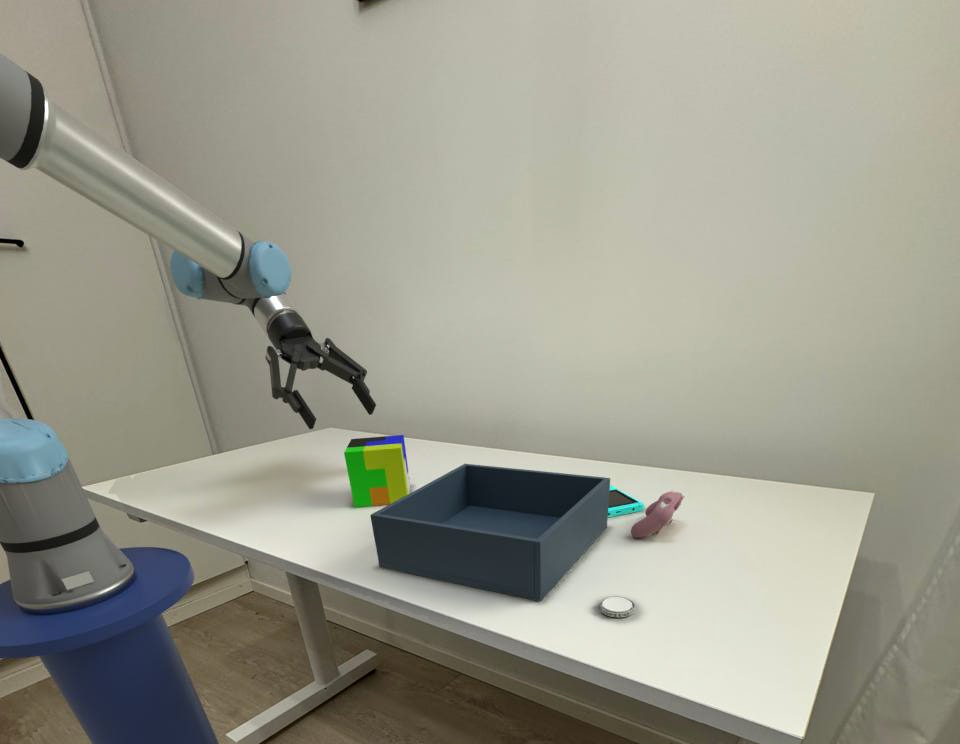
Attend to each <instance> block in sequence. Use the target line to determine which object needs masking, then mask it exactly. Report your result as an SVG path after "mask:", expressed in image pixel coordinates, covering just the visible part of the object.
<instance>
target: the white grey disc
mask: <svg viewBox="0 0 960 744" xmlns="http://www.w3.org/2000/svg"><path fill="white" fill-rule="evenodd" d="M599 610H600V612H601V613H602V614H603V615H605V616H608V617H612V618H625V617H629V616H631V615H633V613H634V612H635V603H634V601H632V600H631V599H629V598H627V597H624V596H608V597H604V598H603V599H602V600H601V601H600V603H599Z"/></svg>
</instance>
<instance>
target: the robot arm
mask: <svg viewBox="0 0 960 744" xmlns="http://www.w3.org/2000/svg"><path fill="white" fill-rule="evenodd" d="M0 159H1V160H3V161H5V162H7V163H8V164H10V165H11V166H14V167H16V168H17V169H18V170H20V171H27V170H31V169H36V170H38V171H39V172H41V173H43V174H44V175H45V176H48V177H49V178H51V179H53V180H54V181H56V182H58V183H60V184H62V185H63V186H64V187H66V188H68V189H70V190H71V191H73V192H75V193H76V194H78V195H79V196H82V197H83V198H85V199H86V200H88V201H90V202H92V203H93V204H94V205H97V207H98V206H99V207H100V208H101V209H102V210H103V209H104V210H105V211H107V212H108V213H110V214H112V215H114V216H115V217H117V218H118V219H120V220H122V221H124V222H125V223H127V224H129V225H131V226H132V227H134V228H135V229H137V230H139V231H140V232H142V233H144V234H145V235H148V236H149V237H151V238H153V239H154V240H156V241H158V243H161V244H163V245H164V246H166V247H168V248H169V249H170V250H172V253H171V256H170V261H169V267H170V274H171V278H172V281H173V284H174V285H175V287H176V289H177V290H178V291H179V292H180V293H181V294H182V295H184V296H186V297H190V298H194V299H197V300H199V301H200V300H206V301H213V302H214V301H215V302H219V303H220V302H221V303H228V304H233V305H236V306H237V305H238V306H245V307H247V308H248V309H249V311H250V313H251V314H252V316H253V317H254V318H255V320H256V321H257V322H258V324H259V326H260V327H261V328H262V330H263V332H264V333H265V335H266V336H267V337H268V339H269V341H270V342H271V344H272V346H271V345H268V346H267V348H266V353H265V361H266V362H267V364H268V366H269V377H270V387H271V396H272V398H273V399H274V400H279V399H281V400H282V402H283V403H284V404H288V405H289V407H290V408H291V409H292V411H293V413H296V414H298V415H299V416H300V417H301V418H302V420H303V422H304V423H305V425H306V426H307V428H308V429H309V430H313V429H314V427H315V424H316V421H317V418H316V416H315V415H314V413H313V411H312V410H311V409H310V407H309V406H308V404H307V402H306V401H305V399H304V398H303V396H302V395H301V393H300V392H299V390H298V389H294V390H293V387H294V382H295V379H296V375H297V370H301V371H302V372H303V371H304V372H305V371H307V370H314V369H318V370H319V371H322V372H323V371H327V372H328V373H330V374H331V375H334V376H335V377H337V378H339V379H340V380H342V381H345V382H347V383H348V384H350V385H352V386H351V390H352V391H353V393H354V394H355V396H356V397H357V398H358V401H359V402H360V404H361V405H362V406H363V408H364V410H365V411H366V412H367V414H368V415H369V416H370V415H373V414H374V411H375V409H376V407H377V404H376V402H375V400H374V399H373V397H372V395H370V394H371V391H370V388H369V387H368V386H367V384H366V383H365V379H366V376H367V374H368V371H367V369H366V368H365V367H363V365H360V364H359V363H358V362H357V361H356V360H354V359H353V358H351V356H349V355H348V354H347V353H345V352H344V351H343V350H341V348H339V347H337V346H336V345H335V343H334V341H332V339H331V338H329V337H326V338H325V339H324V341H323V342H318V341H317V340H315V338H314V337H313V334H312V332H311V331H312V330H311V329H310V328H309V326H308V325H307V323H306V322H305V320H304V319H303V317H302V316H301V315H300V312H299V311H298V309H297V308H296V306H295V304H294V303H293V302H292V300H291V299H290V298H289V296H288V295H287V293H286V292H287V290H288V289H289V287H290V286H291V282H292V281H291V279H292V269H291V265H290V263H289V260H288V257H287V255H286V254H285V252H284V251H283V250H282V248H281V247H280V246H278V245H277V244H275V243H273V242H272V241H271V242H269V241H263V240H257V241H254V240H253V239H250V238H249V237H247V236H246V235H245V234H244V233H242V232H240V231H239V230H237V229H236V228H234V227H233V226H231V225H230V224H229V223H227V222H225V221H224V220H223V219H222V218H220V217H219V216H217V215H216V214H214V213H213V212H211V211H210V210H208V209H207V208H206V207H204V206H203V205H201V204H200V203H198V202H197V201H196V200H195V199H193V198H192V197H190V196H189V195H187V194H186V193H184V192H183V191H182V190H180V189H179V188H177V187H176V186H175V185H173V184H172V183H170V182H169V181H167V180H166V179H164V178H163V177H161V176H160V175H158V174H157V173H156V172H154V171H153V170H151V169H150V168H149V167H148V166H146V165H144V164H143V163H141V162H140V161H139V160H137V159H136V158H134V157H133V156H131V155H130V153H127V152H126V151H125V150H123V149H122V148H120V147H118V146H117V145H116V144H115V143H113V142H112V141H111V140H109V139H107V138H106V137H105V136H103V135H101V134H100V133H98V132H97V131H96V130H95V129H93V128H92V127H90V126H89V125H87V124H86V123H84V122H83V121H82V120H81V119H79V118H77V117H76V116H75V115H73V114H72V113H70V112H69V111H67V110H66V109H65V108H63V107H61V105H59V104H58V103H56V102H55V101H53V100H52V99H51V97H50V96H49V93H48V91H47V89H46V87H45V85H44V83H43V82H42V81H41V80H39V79H38V78H36V76H33V74H31V73H29V72H28V71H27V70H25V69H24V68H22V67H21V66H20V65H18V64H17V63H16V62H15V61H13V60H12V59H10V58H9V57H7V56H6V55H4V54H3V53H1V52H0ZM321 358H322V361H321ZM280 360H283V361H284V362H286V363H287V364H289V369H288V374H287V378H286V382H285V385H284V386H282V381H281V371H280V370H281V369H280ZM3 381H4V380H3V376H2V371H1V370H0V546H1V548H2V550H3V551H4V553H5V555H6V560H7V566H8V572H9V573H8V574H9V580H11V587H12V593H13V598H14V600H15V601H16V603H17V605H18V606H19V608H20V609H21V611H23V612H25V613H28V614H33V615H53V614H61V613H66V612H71V611H76V610H79V609H83V608H86V607H90V606H93V605H95V604H98V603H101V602H103V601H106V600H108V599H110V598H112V597H114V596H116V595H118V594H120V593H121V592H123V591H124V590H126V589H127V588H128V587H130V586H131V585H132V584H133V583H134V581H135V580H136V577H137V574H136V571H135V569H134V567H133V565H132V563H131V562H130V560H129V559H128V558H127V557H126V556H125V555H124V554H123V553H122V552H121V550H120V548H119V547H118V546H117V545H116V544H115V542H113V541H112V540H111V539H110V537H108V535H107V534H106V533H105V532H104V530H103V529H102V528H101V525H100V523H99V521H98V519H97V517H96V515H95V513H94V510H93V508H92V506H91V504H90V501H89V500H88V496H87V495H86V493H85V490H84V488H83V486H82V484H81V481H80V479H79V477H78V475H77V473H76V471H75V468H74V466H73V464H72V462H71V460H70V458H69V453H68V450H67V448H66V447H65V446H64V444H63V443H62V442H61V440H60V438H59V436H58V435H57V433H56V431H55V430H54V429H53V428H52V427H51V426H49V425H48V424H46V423H44V422H42V421H38V420H35V419H29V418H24V416H23V415H21V413H18V412H17V410H15V409H13V407H11V406H10V405H9V403H8V401H7V397H6V390H5V387H4V382H3Z"/></svg>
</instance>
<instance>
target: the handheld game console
mask: <svg viewBox="0 0 960 744" xmlns="http://www.w3.org/2000/svg"><path fill="white" fill-rule="evenodd" d="M644 505H645V503H644V502H642V501H640V500H638V499H636V498H635V497H633V496H631V495H629V494H628V493H625V492H624V491H622V490H620V489H619V488H616V487H615V486H613V485H611V484H610V490H609V505H608V518H612V517H618V516H622V515H627V514H632V513H638V512H642V511H644V508H645V506H644Z"/></svg>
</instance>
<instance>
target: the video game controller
mask: <svg viewBox="0 0 960 744" xmlns="http://www.w3.org/2000/svg"><path fill="white" fill-rule="evenodd" d="M684 499H685V495H683V494H682V492H679V491H674V490H673V489H671V491H667V492H665V493H663V494H661V495H660V496H659V498H658V500H656V501H654V502H652V503H651V504H649V505H648V506H647V508H645V517H643V518H641V519H640V520H638V521H637V522H635V523H634V524H633V525H632V526H631V528H630V535H631V536H632V537H633V538H636V539H638V538H641V539H642V538H646V537H649V536H651V535H653V534H656V535H658V534H659V533H660V532H661V530H662V529H663V528H664V527H665V526H666V525H668V526H672V524H674V522H675V518H673V516H674V513H675V512H676V511H677V510H678V509H679V508H680V506H681V505H682V502H683V500H684Z"/></svg>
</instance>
